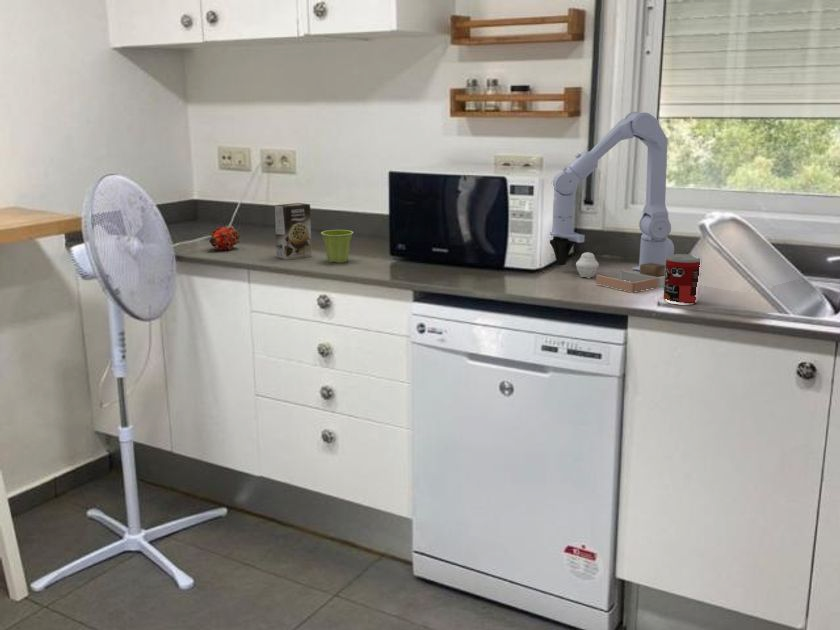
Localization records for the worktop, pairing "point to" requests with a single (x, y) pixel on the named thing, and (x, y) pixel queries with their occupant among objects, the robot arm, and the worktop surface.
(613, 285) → the tray
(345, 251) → the plant pot
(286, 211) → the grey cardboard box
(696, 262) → the canned food
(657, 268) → the walnut block
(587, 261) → the muffin
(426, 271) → the worktop surface
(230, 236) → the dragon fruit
